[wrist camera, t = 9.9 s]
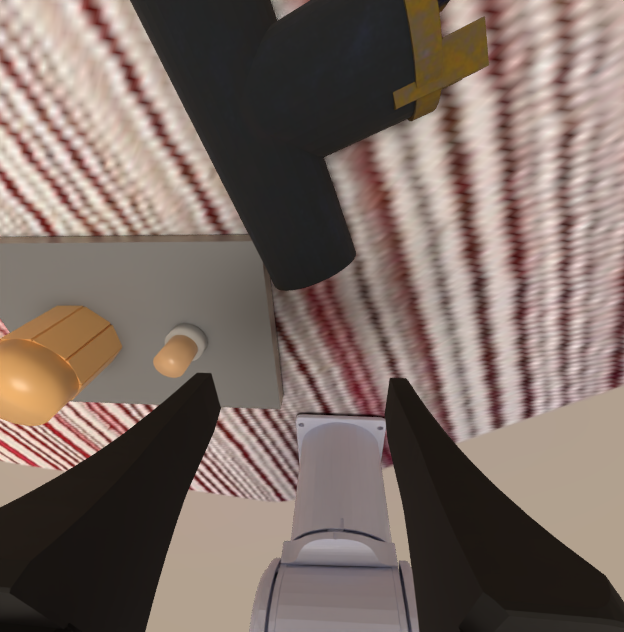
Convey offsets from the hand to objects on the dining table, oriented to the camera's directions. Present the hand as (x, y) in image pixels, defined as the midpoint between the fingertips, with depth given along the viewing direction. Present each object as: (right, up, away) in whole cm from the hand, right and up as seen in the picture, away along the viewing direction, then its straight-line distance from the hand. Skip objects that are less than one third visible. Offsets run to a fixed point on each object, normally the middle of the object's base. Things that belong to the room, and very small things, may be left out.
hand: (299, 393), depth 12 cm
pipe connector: (+1, +14, +3) cm, 15 cm away
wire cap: (-16, +2, +10) cm, 19 cm away
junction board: (-12, +2, +11) cm, 16 cm away
